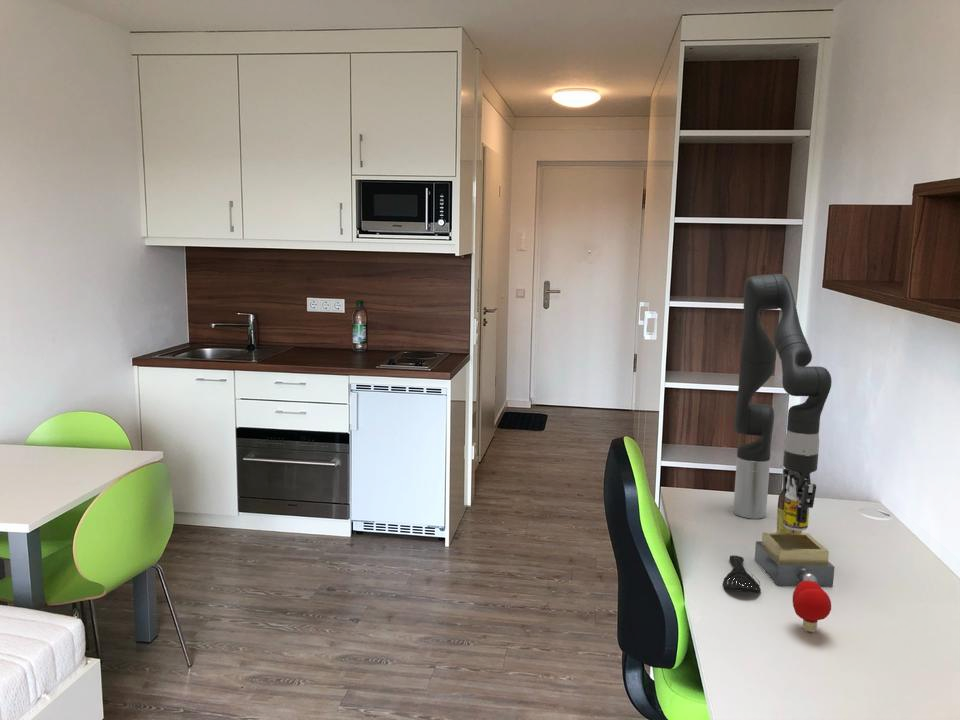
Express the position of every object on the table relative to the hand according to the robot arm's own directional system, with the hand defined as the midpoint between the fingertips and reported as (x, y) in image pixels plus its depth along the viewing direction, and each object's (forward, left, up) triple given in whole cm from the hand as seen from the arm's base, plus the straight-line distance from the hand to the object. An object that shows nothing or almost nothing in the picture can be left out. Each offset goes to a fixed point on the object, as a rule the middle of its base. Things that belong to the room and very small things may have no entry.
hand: (796, 517), depth 183 cm
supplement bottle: (0, 0, -3) cm, 3 cm away
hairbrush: (+3, -14, -15) cm, 20 cm away
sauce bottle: (-18, +6, -14) cm, 24 cm away
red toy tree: (+29, -8, -14) cm, 33 cm away
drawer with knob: (+2, 0, -14) cm, 14 cm away
